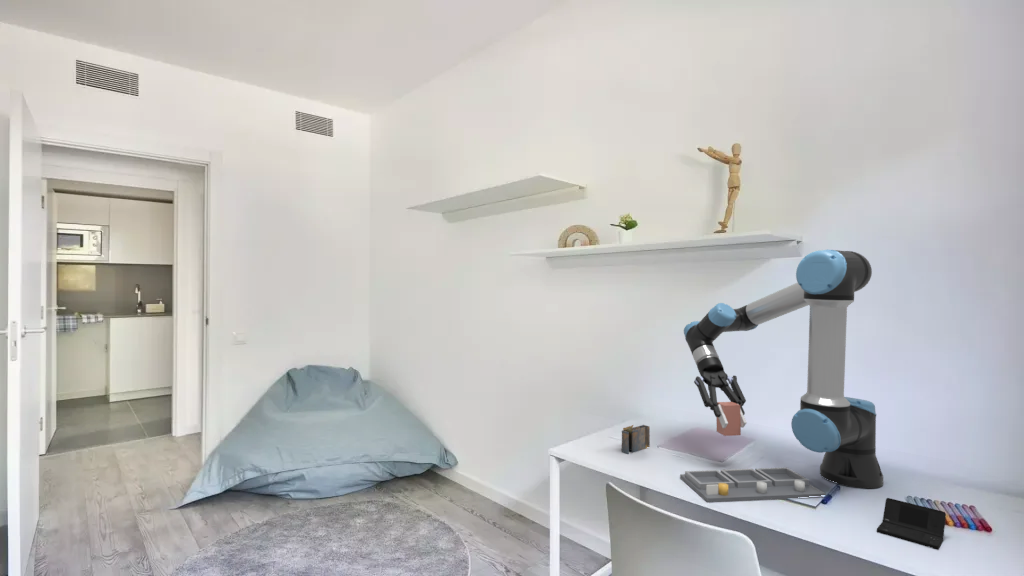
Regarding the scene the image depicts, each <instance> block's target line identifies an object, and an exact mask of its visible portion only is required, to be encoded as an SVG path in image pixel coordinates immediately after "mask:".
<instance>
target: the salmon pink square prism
mask: <svg viewBox="0 0 1024 576" xmlns="http://www.w3.org/2000/svg"><path fill="white" fill-rule="evenodd" d="M718 404H720V405H721V407H722V410H723V412H724V414H725V417H726V419H727V422H728V425H727V426H726V428H722V425H721V423H720V420H719V418H718V417H716V416H715V418H716V432H717V433H719V434H720V435H723V436H724V437H732V436H741V434H742V430H741V421H740V405H739V404H736V403H734V402H731V401H717V405H718Z"/></svg>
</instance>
